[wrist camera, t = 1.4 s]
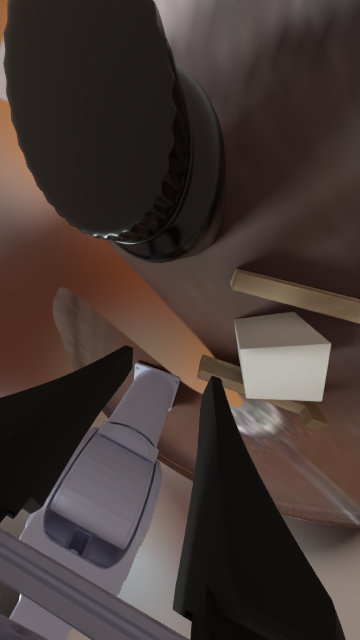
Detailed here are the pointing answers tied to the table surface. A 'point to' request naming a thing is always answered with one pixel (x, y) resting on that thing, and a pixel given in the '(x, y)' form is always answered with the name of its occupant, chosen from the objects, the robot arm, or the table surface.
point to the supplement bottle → (115, 125)
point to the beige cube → (282, 357)
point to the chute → (296, 297)
